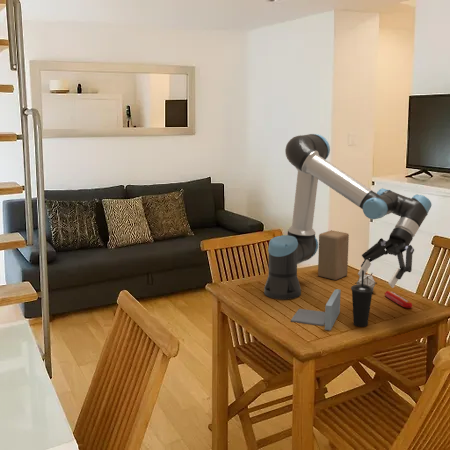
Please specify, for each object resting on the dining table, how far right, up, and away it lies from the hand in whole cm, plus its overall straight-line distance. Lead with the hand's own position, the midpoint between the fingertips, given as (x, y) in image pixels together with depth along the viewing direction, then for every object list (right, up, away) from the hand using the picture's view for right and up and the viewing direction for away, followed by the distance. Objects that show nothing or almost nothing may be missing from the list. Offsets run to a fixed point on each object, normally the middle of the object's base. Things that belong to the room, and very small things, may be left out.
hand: (374, 280), depth 198 cm
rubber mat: (-21, -14, +8) cm, 27 cm away
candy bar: (+15, -11, +23) cm, 30 cm away
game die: (+5, -8, +34) cm, 36 cm away
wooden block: (-4, -4, +56) cm, 56 cm away
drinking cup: (-5, -16, +2) cm, 17 cm away
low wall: (-14, -15, +5) cm, 21 cm away
